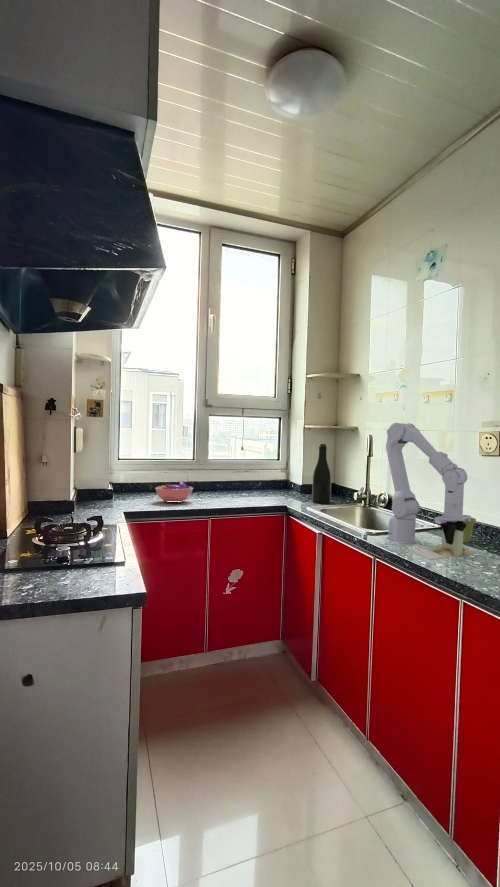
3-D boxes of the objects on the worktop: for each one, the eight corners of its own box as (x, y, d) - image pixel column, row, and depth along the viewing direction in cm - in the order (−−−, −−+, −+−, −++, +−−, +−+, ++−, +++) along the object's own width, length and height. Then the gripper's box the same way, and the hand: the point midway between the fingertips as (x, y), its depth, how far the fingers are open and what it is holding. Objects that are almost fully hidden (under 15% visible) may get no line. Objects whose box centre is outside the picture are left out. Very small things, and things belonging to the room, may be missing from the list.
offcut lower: (430, 554, 145) (430, 551, 145) (438, 553, 147) (438, 550, 147) (444, 559, 140) (444, 556, 140) (452, 558, 141) (453, 555, 141)
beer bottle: (330, 501, 243) (332, 443, 242) (331, 504, 233) (333, 444, 232) (311, 500, 245) (313, 443, 244) (311, 503, 234) (313, 443, 233)
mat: (408, 552, 144) (408, 550, 144) (424, 550, 146) (424, 549, 146) (429, 560, 135) (429, 558, 135) (445, 558, 138) (445, 556, 138)
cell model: (155, 499, 234) (156, 479, 234) (192, 499, 238) (192, 479, 237) (154, 505, 217) (154, 483, 217) (193, 505, 221) (194, 483, 221)
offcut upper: (433, 551, 145) (433, 548, 145) (439, 550, 146) (439, 547, 146) (444, 555, 140) (444, 552, 140) (451, 555, 141) (451, 551, 141)
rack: (436, 549, 148) (436, 542, 148) (446, 548, 150) (446, 541, 150) (457, 557, 140) (457, 549, 140) (467, 555, 142) (468, 548, 141)
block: (441, 550, 148) (442, 527, 147) (445, 549, 148) (446, 526, 148) (458, 555, 141) (459, 532, 141) (462, 555, 142) (463, 531, 142)
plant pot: (480, 544, 157) (481, 520, 157) (455, 543, 157) (456, 520, 156) (466, 537, 166) (467, 515, 166) (443, 537, 166) (443, 515, 166)
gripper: (447, 506, 138) (445, 548, 138) (479, 504, 143) (477, 544, 144) (430, 503, 144) (428, 542, 145) (461, 501, 150) (460, 539, 150)
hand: (452, 543), depth 145 cm, fingers closed on block, 2 cm apart
